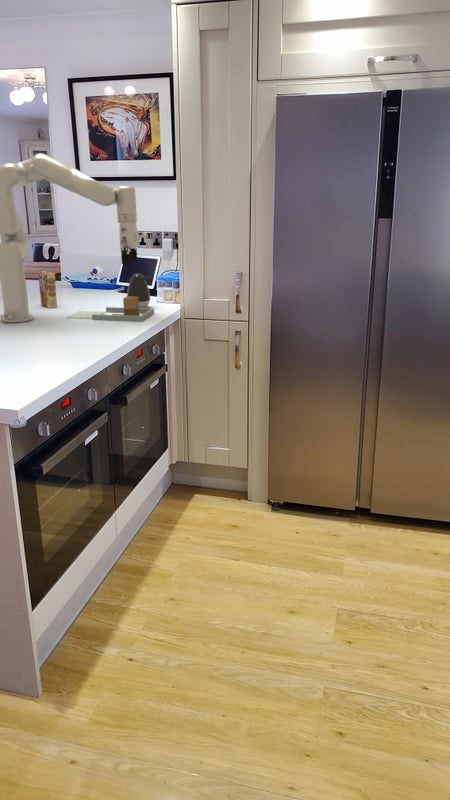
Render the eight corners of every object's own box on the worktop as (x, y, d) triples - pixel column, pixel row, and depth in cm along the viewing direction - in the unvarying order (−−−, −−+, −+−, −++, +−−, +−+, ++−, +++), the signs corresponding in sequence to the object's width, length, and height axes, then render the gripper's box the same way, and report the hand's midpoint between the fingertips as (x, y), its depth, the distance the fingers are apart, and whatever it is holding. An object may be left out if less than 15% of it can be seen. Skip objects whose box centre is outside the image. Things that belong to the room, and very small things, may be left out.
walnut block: (135, 318, 257) (134, 298, 255) (110, 317, 259) (109, 297, 256) (139, 315, 262) (138, 296, 259) (114, 314, 264) (113, 295, 261)
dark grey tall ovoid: (146, 310, 273) (145, 275, 269) (124, 309, 275) (122, 274, 270) (153, 306, 283) (152, 272, 278) (132, 305, 285) (130, 271, 280)
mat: (93, 318, 256) (93, 318, 256) (66, 317, 258) (66, 317, 258) (105, 312, 269) (105, 311, 269) (79, 311, 271) (79, 310, 271)
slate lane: (142, 321, 251) (142, 316, 250) (92, 319, 254) (91, 314, 254) (154, 313, 267) (154, 308, 266) (107, 311, 270) (106, 307, 270)
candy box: (58, 307, 280) (55, 273, 275) (49, 308, 278) (45, 273, 273) (49, 304, 287) (46, 271, 282) (40, 305, 284) (37, 271, 279)
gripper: (129, 220, 239) (132, 265, 244) (142, 217, 255) (144, 260, 260) (110, 220, 240) (113, 265, 245) (125, 217, 256) (127, 260, 262)
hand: (129, 262), depth 253 cm, fingers open, 9 cm apart
